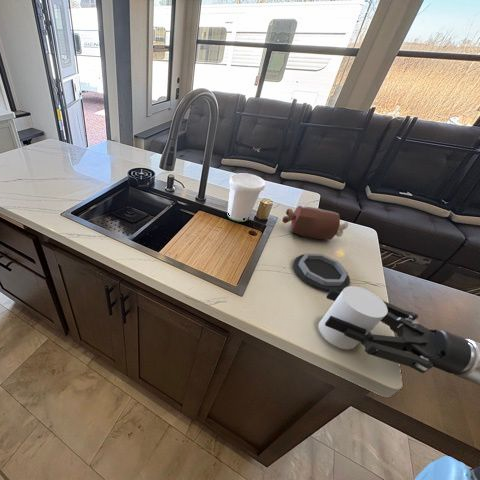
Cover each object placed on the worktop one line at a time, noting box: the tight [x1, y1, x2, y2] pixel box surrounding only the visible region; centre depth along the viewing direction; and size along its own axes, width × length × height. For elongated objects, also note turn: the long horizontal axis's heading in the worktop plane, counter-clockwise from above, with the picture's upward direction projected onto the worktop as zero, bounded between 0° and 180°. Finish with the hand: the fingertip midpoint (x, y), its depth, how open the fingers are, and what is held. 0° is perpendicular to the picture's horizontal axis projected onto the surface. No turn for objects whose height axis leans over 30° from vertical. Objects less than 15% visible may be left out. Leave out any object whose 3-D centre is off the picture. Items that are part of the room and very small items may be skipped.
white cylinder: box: [318, 285, 388, 350], centre depth 57 cm, size 8×8×12 cm
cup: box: [226, 172, 267, 223], centre depth 96 cm, size 12×12×15 cm
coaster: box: [292, 252, 351, 293], centre depth 76 cm, size 15×15×3 cm
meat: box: [281, 205, 349, 241], centre depth 89 cm, size 20×12×10 cm, turn 70°
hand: (328, 306), depth 58 cm, fingers closed on white cylinder, 8 cm apart
